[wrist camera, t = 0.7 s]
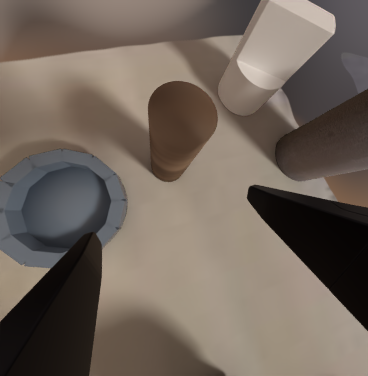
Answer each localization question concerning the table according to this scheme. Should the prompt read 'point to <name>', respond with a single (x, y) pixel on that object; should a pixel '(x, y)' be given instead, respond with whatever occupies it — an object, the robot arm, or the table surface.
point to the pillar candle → (328, 143)
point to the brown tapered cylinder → (178, 127)
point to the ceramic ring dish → (58, 205)
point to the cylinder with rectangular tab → (272, 51)
